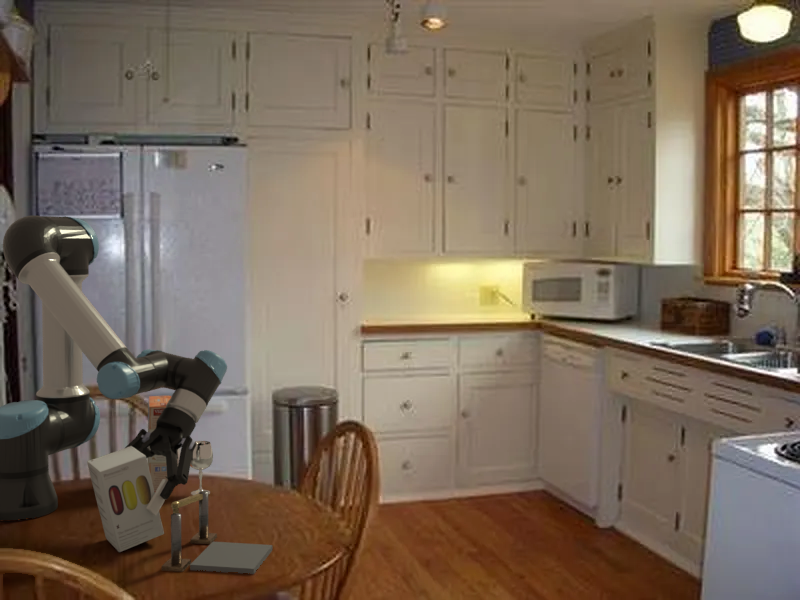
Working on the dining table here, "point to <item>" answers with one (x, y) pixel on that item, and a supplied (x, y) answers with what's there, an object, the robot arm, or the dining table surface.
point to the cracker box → (154, 411)
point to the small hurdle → (200, 538)
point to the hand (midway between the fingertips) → (127, 506)
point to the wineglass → (201, 460)
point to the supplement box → (125, 497)
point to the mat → (231, 557)
